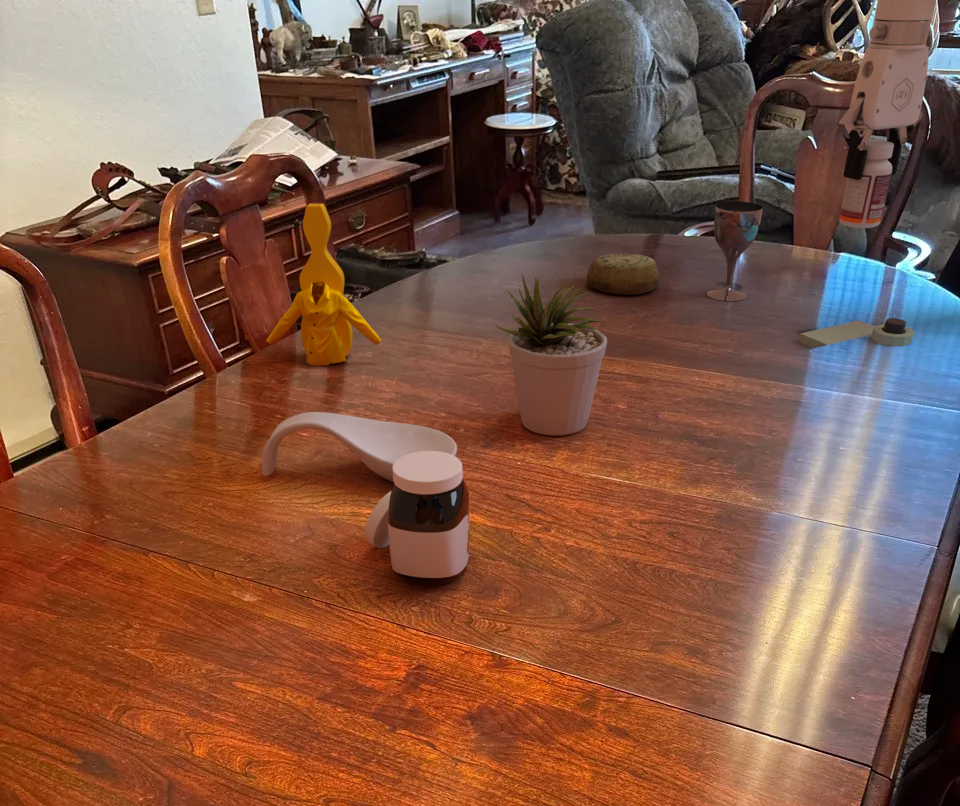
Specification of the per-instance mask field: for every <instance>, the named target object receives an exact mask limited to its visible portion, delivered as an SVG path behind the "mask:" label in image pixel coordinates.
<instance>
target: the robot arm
mask: <svg viewBox="0 0 960 806" xmlns="http://www.w3.org/2000/svg"><path fill="white" fill-rule="evenodd" d="M936 2H937V0H877V3H876V8H875V14H874V18H873V23H872V27H871V28H870V30H869V34H868V35H869V36H868V37H869V43H868V46H867V47H866V49H865V51H864V54H863V57H862V59H861V63H860V66H859V69H858V72H857V76H856V79H855V83H854V86H853V91H852V95H851V100H850V105H849V108H848V109H847V111H845V113H844V115H843V116H842V117H841V118H840V119H839V121H838V126H839V129H840V131H841V133H842V136H843V139H844V141H845V147H846V148H848V150H847V155H846V159H845V165H844V169H843V177H844V178H846V179H847V178H850V179H855V180H860V179H861V178H862V176H863V171H864V167H865V162H866V157H867V151H868V150H864V149H865V147H866V145H867V143H868V140H870V138H871V136H872V134H873V132H874V130H876V131H877V130H885V135H886V141H888V142H891V143H893V144H894V147H893V152H892V157H891V158H888V161H889V162H890V163H891V164H892V174H891V176H895V175H896V174H897V170H898V166H899V162H900V157H901V153H902V148H903V146H905V145H906V144H907V141H908V137H909V136H910V135H911V133H912V132H913V130H914V129H915V127H916V125H917V124H918V123H919V122H920V120H921V119H922V118H923V116H924V115H923V110H922V105H923V100H924V94H925V89H926V83H927V76H928V69H929V53H930V52H929V50H930V48H929V46H928V45H927V41H928V38H929V34H930V29H931V25H932V20H933V16H934V12H935V7H936V4H937V3H936ZM861 132H862V133H861ZM860 133H861V136H860Z"/></svg>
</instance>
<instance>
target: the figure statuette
mask: <svg viewBox="0 0 960 806" xmlns="http://www.w3.org/2000/svg"><path fill="white" fill-rule="evenodd" d="M302 229H303V233H304V236H305V238H306V240H307V242H308V245H309V246H310V249H311V254H310V256H309V258H308V260H307V262H306V263H305V265H304V266H303V268H302V270H301V272H300V273H299V279H298V280H299V286H300V290H301V291H298V292H297V293H296V295H295V297H294V299H293V301H292V303H291V304H290V307H289V308H288V309H287V310H286V311H285V312H284V313H283V315H282V316H281V318H280V319H279V321H278V322H277V324H275V326H274V328H273V330H272V331H271V332H270V334H268V335H269V336H268V337H267V338H266V339H265V341H266V342H267V343H268V344H270V345H273V346H275V345H276V344H277V343H279V341H280V340H281V339H282V338H283V337H284V336H285V335H286V334H287V332H289V330H290V329H291V328H292V327H293V326H294V324H295V323H296V322H297V321H298V319H299V318H300V317H301V316H302V318H301V323H300V337H301V342H302V346H303V349H304V351H305V356H306V363H307V364H308V365H310V366H316V367H317V366H330V364H339V363H342V362H345V361H346V360H347V359H346V357H348V355H349V354H350V351H351V349H352V346H353V342H354V341H353V338H354V331H353V328H355V329H356V331H358V332H359V333H360V334H361V335H362V336H364V337H365V338H366V339H367V340H368V341H370V342H371V343H372V344H374V345H375V346H377V345H379V344H381V342H382V341H383V340H382V339H381V337H380V336H379V334H377V332H376V331H375V330H374V328H373V327H372V326H371V325H370V324H369V323H368V322H367V320H366V319H365V318H364V317H363V316H362V314H361V313H360V312H359V311H358V310H357V309H356V308H355V305H353V304H352V303H351V302H350V300H348V298H347V297H346V296H345V294H344V291H345V282H346V281H345V274H344V271H343V270H342V268H341V266H340V265H339V264H338V263H337V262H336V260H335V259H334V258H333V256H332V255H331V254H330V252H329V250H328V242H329V239H330V236H331V231H332V221H331V218H330V215H329V213H328V211H327V208H326V206H325V204H324V203H322V202H321V203H309V204H308V205H306V207H305V210H304V215H303V220H302Z"/></svg>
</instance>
